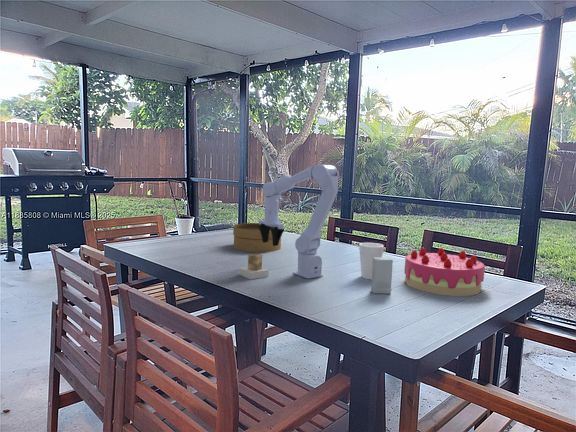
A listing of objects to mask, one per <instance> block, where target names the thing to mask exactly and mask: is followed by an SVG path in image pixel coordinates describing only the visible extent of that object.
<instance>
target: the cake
mask: <svg viewBox="0 0 576 432" xmlns="http://www.w3.org/2000/svg"><path fill="white" fill-rule="evenodd" d="M404 259H405V261H404V274H405V277H404V278H405V279H404V282H405V283H406V285H408V286H409V287H411V288H413V289H416V290H419V291H423V292H427V293H431V294H437V295H445V296H452V297H453V296H454V297H456V296H457V297H458V296H459V297H461V296H462V297H464V296H465V297H467V296H475V295H478V294H479V293H480V292H481V291H482V282H484V280H485V279H484V278H485V264H484V263H483V262H481V261H480V260H478V258H477V256H476V255H475V254H474V255H473V254H472V255H471V256H470V257H467V254H466V251H465V250H461V251H460V252H459V254H458V255H456V254H448V253H446V252H445V249H444V248H443V247H440V248H439V249H438V251H437V253H436V252H427V251H426V248H425V247H421V248H420V249H419V252H417V250H415V249H413V250H412V251H411V253H410V254H407V255H406V256H405V258H404Z"/></svg>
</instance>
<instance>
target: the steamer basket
mask: <svg viewBox="0 0 576 432" xmlns="http://www.w3.org/2000/svg"><path fill="white" fill-rule="evenodd" d="M258 226H261V225H260V224H259V222H246V223H238V224H234V225H233V229H232V231H233V247H234V249H235V250H239V251H243V252H249V253H250V252H251V253H269V252H276V251H280V250H281V248H282V236H283V234H282V235H281V237H280V240H279V244H278V245H277V246H273V238H272V233H271V230H270V231H269V237H268V242H264V243H263V241H262V236H261V233H260V230H259V228H258ZM272 228H274V227H271V228H270V229H272Z"/></svg>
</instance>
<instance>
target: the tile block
mask: <svg viewBox="0 0 576 432" xmlns="http://www.w3.org/2000/svg"><path fill="white" fill-rule="evenodd" d="M238 270H239V271H238V272H239V274H238V275H239V276H242V277H244V278H246V279H249V280H255V279H261V278H268V277H269V269H267V268H264V267H262V269H260V270H258V271H255V270H249V269H248V266H245V267H239V268H238Z"/></svg>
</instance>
